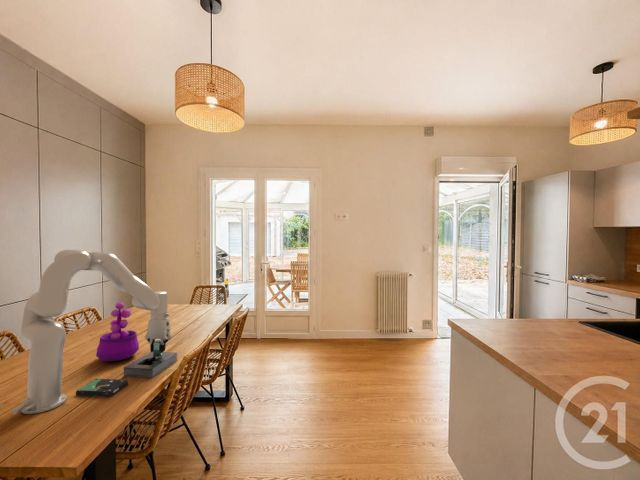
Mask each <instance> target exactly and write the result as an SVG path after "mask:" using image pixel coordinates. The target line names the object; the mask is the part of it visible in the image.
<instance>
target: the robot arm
mask: <svg viewBox="0 0 640 480" xmlns="http://www.w3.org/2000/svg"><path fill="white" fill-rule="evenodd" d="M81 271H96V272H100V273H101V274H102V275H103V276H104V277H105V278H107V280H108V281H109V282H110V283H111V284H112V285H113V286H114V287H115V288H117V289H118V290H119V291H122V292H124V293H126V294H129V295H130V296H132V298H131V304H132V306H133V307H135V308H136V309H140V310H146V311H150V317H149V319H148V322H147V329H146V333H145V335H144V339H146V340H147V342H148V344H149V346H150V348H149V349H150V352H153V342H154V341H156V340H161V345H160V353H162V352H166V344H167V343H168V342H169V341H170V340H172V339H173V336H172V335H171V323H170V318H169V317H170V314H169V313H168V306H169V304H168V302H169V301H168V299H169V298H168V297H169V293H168V292H167V291H163V290H161V291H154V290H153V289H152V288H151V287H150V286H149V285H148V284H146V283H145V282H144V281H142V280H141V279H140V278H138V277H137V276H136V275H135V274H134V273H132V272H131V270H130V269H129V268H128V267H127V266H126V265H125V264H124V263H123V262H122V260H121V259H119V258H118V256H116V255H115V254H114V253H110V252H101V251H85V250H81V249H63V250H60V251H59V252H57V253H56V254H55V255H54V259H53V262H51V263H50V265H48V267H46V269H45V270H44V272H43V274H42V277H41V280H40V284H39V289H38V291H37V292H35V293H33V294H32V295H31V296H29V297H28V299H27V300H26V302H25V305H24V311H23V316H22V321H21V328H20V332H21V333H20V334H21V337H22V339H24V341H26V342H28V343H29V344H30V350H29V355H28V363H27V367H28V370H27V393H26V398H24V399H23V402H22V403H21V404H20V405H18V406H16V407H14V408H12V410H11V412H12V414H14V415H16V414H17V413H19V412H20V413H22V414H25V415H33V414H41V413H43V412H47V411H50V410H53V409H55V408H57V407H60V406H61V405H63V404H64V403H65V402H66V401H67V397H68V396H67V395H66V394H65V393H62V388H63V384H62V383H63V364H64V363H63V360H64V359H63V358H64V347H65V342H66V338H67V337H66V336H67V331H66V328H65V327H64V326H63V324H61V323H60V322H58V321H55V318H57V317H59V316H61V315H62V314H64V312H65V310H66V308H67V306H68V305H67V303H68V297H69V289H70V285H71V282H72V279H73V277H74V276H75V275H76V274H78V272H81Z"/></svg>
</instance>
